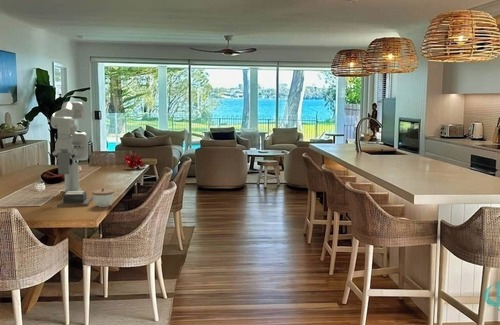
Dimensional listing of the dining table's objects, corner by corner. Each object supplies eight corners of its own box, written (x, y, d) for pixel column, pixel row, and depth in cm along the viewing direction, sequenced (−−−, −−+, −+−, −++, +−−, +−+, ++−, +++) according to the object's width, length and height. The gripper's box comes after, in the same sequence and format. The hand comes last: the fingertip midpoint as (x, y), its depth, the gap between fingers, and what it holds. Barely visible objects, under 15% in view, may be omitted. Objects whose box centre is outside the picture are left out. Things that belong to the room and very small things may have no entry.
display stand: (63, 200, 314) (63, 189, 313) (92, 199, 317) (91, 189, 316) (57, 206, 294) (56, 196, 293) (87, 205, 297) (87, 195, 297)
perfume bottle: (72, 172, 311) (71, 144, 308) (69, 174, 304) (67, 145, 302) (62, 172, 311) (61, 144, 308) (58, 174, 304) (57, 145, 302)
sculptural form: (150, 157, 464) (131, 149, 468) (141, 152, 440) (121, 145, 445) (143, 176, 462) (124, 168, 467) (132, 172, 438) (112, 164, 443)
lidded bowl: (113, 207, 294) (112, 189, 292) (91, 208, 291) (91, 190, 290) (114, 203, 306) (114, 186, 304) (93, 203, 303) (93, 186, 302)
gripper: (79, 136, 310) (80, 164, 312) (51, 136, 307) (52, 164, 309) (77, 137, 302) (78, 165, 304) (48, 137, 299) (49, 166, 302)
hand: (65, 164), depth 307 cm, fingers closed on perfume bottle, 5 cm apart
